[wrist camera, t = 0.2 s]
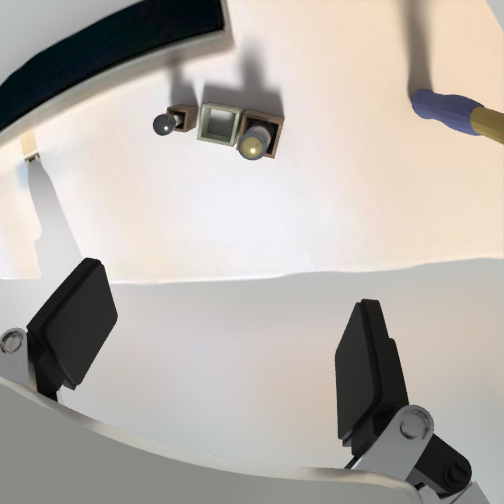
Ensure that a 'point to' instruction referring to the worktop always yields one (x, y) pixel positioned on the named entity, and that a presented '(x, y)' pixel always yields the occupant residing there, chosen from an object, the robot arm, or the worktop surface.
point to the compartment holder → (204, 122)
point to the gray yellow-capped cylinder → (256, 140)
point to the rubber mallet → (459, 114)
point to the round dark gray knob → (167, 123)
